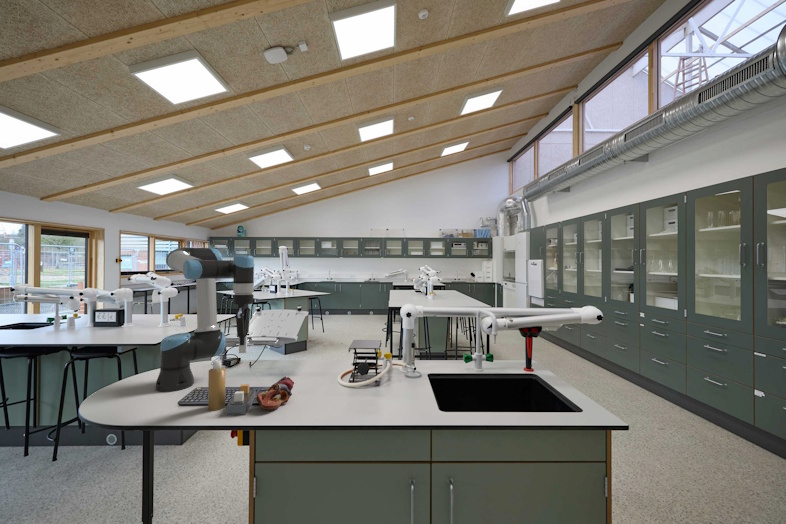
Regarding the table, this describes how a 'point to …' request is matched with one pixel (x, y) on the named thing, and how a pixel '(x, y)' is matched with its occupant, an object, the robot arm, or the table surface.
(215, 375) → the amber pump bottle
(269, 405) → the anatomical model
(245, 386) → the paddle
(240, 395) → the paddle
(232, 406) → the breaker strip
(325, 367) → the table surface
